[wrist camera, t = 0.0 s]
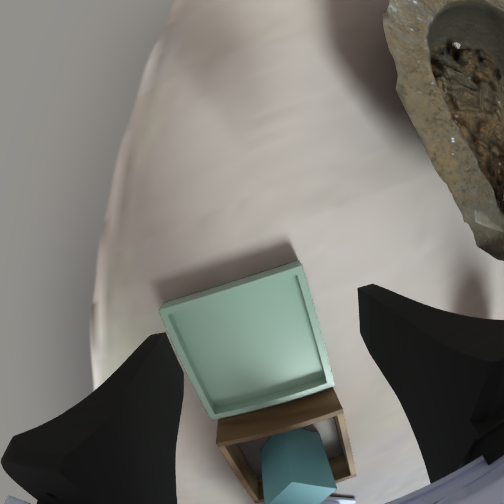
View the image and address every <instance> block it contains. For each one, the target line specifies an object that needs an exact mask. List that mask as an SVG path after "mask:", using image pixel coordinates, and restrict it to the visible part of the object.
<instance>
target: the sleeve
mask: <svg viewBox="0 0 504 504" xmlns="http://www.w3.org/2000/svg"><path fill="white" fill-rule="evenodd" d="M331 417H334V418H335V422H336V426H337V430H338V434H339V438H340V443H341V447H342V451H343V455H342V456H339V457H336V458H333V459H330V460H328V462H329V465H330V468H331V471H332V474H333V477H334V481H335V483H338V482H341V481H344V480H347V479H350V478H352V477H355V476H357V475H356V470H355V465H354V460H353V455H352V450H351V445H350V440H349V436H348V431H347V426H346V422H345V417H344V413H343V408H342V406H341V404H340V402H339V400H338V398H337V395H336V393H335V391H334V389H333V388H330V389H327V390H325V391H322V392H319V393H316V394H313V395H310V396H306V397H303V398H300V399H297V400H294V401H290V402H287V403H284V404H280V405H277V406H273V407H269V408H266V409H262V410H258V411H254V412H250V413H246V414H242V415H238V416H233V417H229V418H225V419H220V420H218V429H217V440H216V444H217V445H218V447H219V449H220V450H221V452H222V453H223V455H224V457H225V458H226V460H227V462H228V463H229V465H230V466H231V468H232V469H233V471H234V472H235V474H236V476H237V477H238V479H239V480H240V482H241V483H242V485H243V486H244V488H245V489H246V491H247V492H248V493H249V495H250V496H251V498H252V499H253V501H254V502H255V503H258V502H264V491H263V479H262V478H258V479H257V477H256V476H255V474H254V472H253V470H252V469H251V467H250V465H249V464H248V462H247V460H246V458H245V457H244V455H243V453H242V451H241V450H240V448H239V446H238V444H237V443H242V442H246V441H251V440H255V439H259V438H264V437H268V436H272V435H275V434H279V433H283V432H286V431H290V430H294V429H297V428H300V427H304V426H307V425H310V424H313V423H316V422H320V421H323V420H326V419H329V418H331Z"/></svg>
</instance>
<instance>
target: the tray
mask: <svg viewBox="0 0 504 504" xmlns="http://www.w3.org/2000/svg"><path fill="white" fill-rule="evenodd" d="M158 311H159V313H160V315H161V318H162V320H163V322H164V325H165V327H166V329H167V332H168V334H169V336H170V338H171V340H172V343H173V345H174V347H175V349H176V351H177V353H178V356H179V358H180V360H181V362H182V364H183V366H184V368H185V370H186V372H187V374H188V376H189V378H190V380H191V382H192V384H193V386H194V388H195V390H196V392H197V394H198V396H199V398H200V400H201V402H202V404H203V406H204V408H205V410H206V411H207V413H208V415H209V417H210V419H211V420H215V419H219V418H224V417H229V416H233V415H237V414H242V413H246V412H250V411H254V410H258V409H261V408H265V407H269V406H272V405H276V404H280V403H283V402H286V401H290V400H293V399H296V398H300V397H303V396H306V395H309V394H312V393H315V392H318V391H321V390H324V389H327V388H330V387H333V386H335V385H334V381H333V377H332V373H331V369H330V365H329V361H328V357H327V353H326V349H325V345H324V341H323V337H322V333H321V330H320V326H319V322H318V318H317V315H316V311H315V307H314V304H313V300H312V296H311V293H310V289H309V286H308V282H307V279H306V275H305V272H304V268H303V265H302V264H301V263H300V262H299V260H298V261H295V262H292V263H289V264H286V265H283V266H280V267H277V268H273V269H270V270H267V271H264V272H261V273H258V274H255V275H252V276H249V277H246V278H242V279H239V280H236V281H233V282H230V283H227V284H223V285H220V286H217V287H214V288H211V289H207V290H204V291H201V292H198V293H195V294H191V295H188V296H185V297H182V298H178V299H175V300H172V301H168V302H165V303H163V304H162V306H161V307H160V309H159V310H158Z"/></svg>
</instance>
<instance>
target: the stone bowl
mask: <svg viewBox="0 0 504 504" xmlns="http://www.w3.org/2000/svg"><path fill="white" fill-rule="evenodd" d="M382 16H383V28H384V32H385V37H386V41H387V44H388V48H389V51H390V53H391V55H392V57H393V59H394V61H395V65H396V70H397V74H398V77H397V85H396V88H395V89H396V91H397V93H398V95H399V98H400V100H401V102H402V104H403V106H404V108H405V110H406V112H407V114H408V116H409V118H410V119H411V121H412V123H413V125H414V127H415V129H416V130H417V133H418V135H419V137H420V138H421V140H422V142H423V144H424V146H425V149H426V152H427V154H428V156H429V158H430V160H431V162H432V164H433V166H434V168H435V170H436V171H437V173H438V174H439V176H440V177H441V179H442V180H443V181H444V182H445V183H446V184H447V186H448V188H449V190H450V192H451V193H452V195H453V198H454V200H455V202H456V204H457V206H458V208H459V209H460V211H461V213H462V215H463V219H464V222H466V223H468V224H469V226H470V228H471V229H472V231H473V233H474V237H475V241H476V245H477V246H478V247H479V248H481V249H482V250H484V251H485V252H487V253H489V254H490V255H491V256H493V257H494V258H496V259H498V260H503V261H504V201H502V198H503V190H504V0H389V6H388V8H387V11H386V12H385V13H383V14H382ZM453 42H457V43H459V44H460V45H461V46H460V49H456V48H455V47H454V46H452V45H451V44H452V43H453ZM452 68H453V69H452ZM454 69H455V70H454ZM499 201H502V202H500V206H499Z"/></svg>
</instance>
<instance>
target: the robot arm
mask: <svg viewBox="0 0 504 504" xmlns="http://www.w3.org/2000/svg"><path fill="white" fill-rule="evenodd" d="M358 302H359V319H360V333H361V336H362V338H363V340H364V342H365V345H366V347H367V349H368V351H369V353H370V355H371V356H372V358H373V359H374V361H375V362H376V364H377V366H378V367H379V369H380V370H381V372H382V373H383V375H384V376H385V378H386V379H387V381H388V383H389V384H390V386H391V387H392V389H393V390H394V392H395V394H396V395H397V397H398V399H399V401H400V403H401V405H402V407H403V409H404V411H405V413H406V416H407V418H408V420H409V422H410V425H411V427H412V430H413V432H414V435H415V437H416V440H417V442H418V445H419V448H420V451H421V453H422V456H423V459H424V462H425V465H426V469H427V472H428V476H429V479H430V483H431V484H430V485H428V486H425V487H423V488H421V489H419V490H417V491H414V492H412V493H410V494H408V495H405V496H403V497H400V498H398V499H395V500H393V501H390V502H388V503H385V504H504V320H492V319H483V318H475V317H469V316H464V315H459V314H455V313H451V312H447V311H443V310H440V309H436V308H433V307H431V306H428V305H425V304H422V303H419V302H417V301H414V300H411V299H409V298H407V297H404V296H402V295H399V294H397V293H395V292H392V291H390V290H388V289H385V288H383V287H380V286H378V285H375V284H370V285H367V286H363V287H360V288H358ZM183 394H184V373H183V370H182V368H181V366H180V364H179V362H178V360H177V357H176V355H175V353H174V351H173V349H172V346H171V344H170V342H169V339H168V337H167V335H166V333H159V334H154V335H150V336H149V337H148V338H147V339H146V340H145V341H144V342H143V343H142V344H141V345H140V346H139V347H138V348H137V349H136V350H135V351H134V352H133V353H132V354H131V356H130V357H129V358H128V359H127V360H126V361H125V362H124V363H123V364H122V365H121V366H120V367H119V368H118V369H117V370H116V371H115V372H114V373H113V374H112V375H111V376H110V377H109V378H108V379H107V380H106V381H105V382H104V383H103V384H102V385H101V386H99V387H98V388H97V389H96V390H95V391H94V392H92V393H91V394H90V395H89V396H88V397H86V398H85V399H84V400H82V401H81V402H79V403H78V404H76V405H75V406H73V407H72V408H70V409H69V410H67V411H66V412H64V413H63V414H61V415H59V416H58V417H56V418H54V419H52V420H50V421H48V422H47V423H44V424H43V425H40V426H38V427H36V428H34V429H31V430H29V431H26V432H24V433H21V434H18V435H16V436H14V437H13V438H12V440H11V441H10V443H9V445H8V447H7V449H6V451H5V453H4V455H3V457H2V459H1V464H2V466H3V469H4V470H5V471H6V473H7V474H8V475H9V476H10V477H11V478H12V479H13V480H14V481H15V482H16V483H17V484H19V485H20V486H21V487H22V488H23V489H24V490H26V491H27V492H28V493H29V494H31V495H32V496H33V497H34V498H36V499H37V500H38V501H37V504H177V496H176V475H175V455H176V442H177V435H178V428H179V422H180V415H181V409H182V402H183ZM355 503H356V499H353V498H341V497H331V496H328V497H327V498H326V499H325V500H323V501H322V502H321V503H320V504H355ZM5 504H30V503H28V502H26V501H23V500H20V499H17V498H15V497H12V496H7V498H6V501H5Z"/></svg>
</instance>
